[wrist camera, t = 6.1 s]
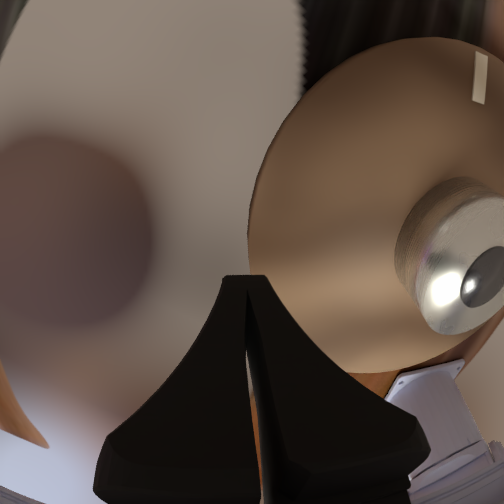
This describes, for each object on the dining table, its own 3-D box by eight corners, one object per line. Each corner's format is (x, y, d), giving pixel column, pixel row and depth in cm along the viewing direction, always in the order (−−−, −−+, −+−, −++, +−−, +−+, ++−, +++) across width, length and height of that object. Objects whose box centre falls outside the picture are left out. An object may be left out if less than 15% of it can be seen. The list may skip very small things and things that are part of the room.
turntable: (482, 338, 21) (489, 348, 20) (245, 372, 19) (246, 388, 18) (561, 100, 10) (574, 105, 9) (251, 0, 9) (254, -8, 8)
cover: (474, 288, 16) (503, 324, 13) (380, 301, 16) (406, 348, 13) (508, 181, 12) (551, 209, 9) (409, 171, 12) (455, 204, 9)
